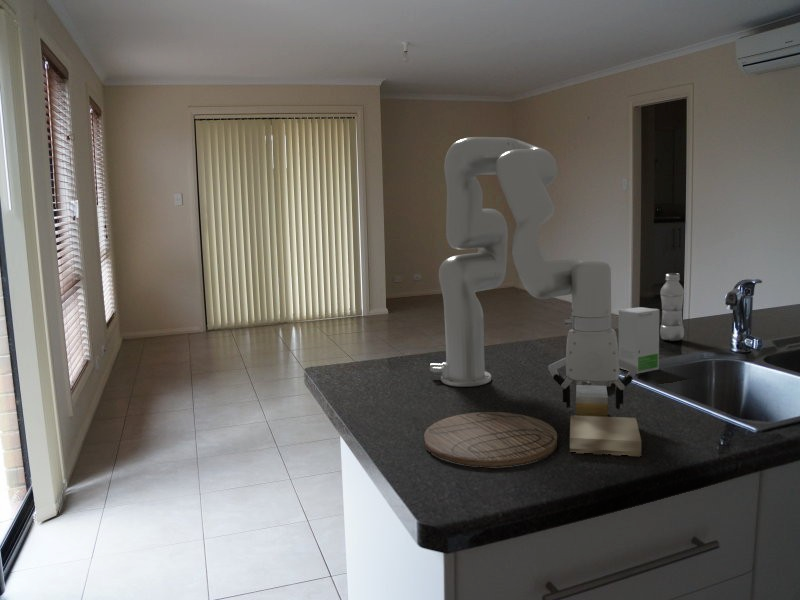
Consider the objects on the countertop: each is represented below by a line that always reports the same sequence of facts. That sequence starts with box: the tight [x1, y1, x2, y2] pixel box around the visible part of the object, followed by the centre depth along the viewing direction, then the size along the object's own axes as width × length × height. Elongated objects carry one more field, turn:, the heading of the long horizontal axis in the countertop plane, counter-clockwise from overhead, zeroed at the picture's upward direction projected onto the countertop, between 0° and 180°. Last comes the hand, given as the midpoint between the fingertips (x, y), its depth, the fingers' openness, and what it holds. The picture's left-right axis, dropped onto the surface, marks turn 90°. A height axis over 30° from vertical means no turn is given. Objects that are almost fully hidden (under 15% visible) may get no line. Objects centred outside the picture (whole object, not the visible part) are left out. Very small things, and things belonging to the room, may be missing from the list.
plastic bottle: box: [659, 272, 685, 342], centre depth 196 cm, size 6×7×20 cm
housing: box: [575, 384, 609, 417], centre depth 135 cm, size 6×8×6 cm
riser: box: [569, 414, 642, 457], centre depth 122 cm, size 12×12×3 cm
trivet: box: [423, 411, 558, 467], centre depth 126 cm, size 25×25×2 cm
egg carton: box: [576, 370, 621, 388], centre depth 158 cm, size 11×8×4 cm
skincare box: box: [618, 306, 660, 375], centre depth 168 cm, size 8×7×16 cm
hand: (592, 406), depth 134 cm, fingers open, 9 cm apart
